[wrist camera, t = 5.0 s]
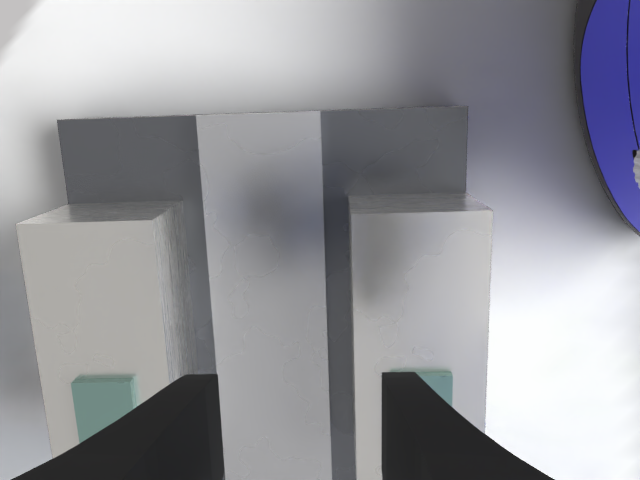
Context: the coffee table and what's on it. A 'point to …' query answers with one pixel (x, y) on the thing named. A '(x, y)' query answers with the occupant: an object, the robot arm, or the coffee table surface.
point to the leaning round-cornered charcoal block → (611, 97)
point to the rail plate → (262, 277)
